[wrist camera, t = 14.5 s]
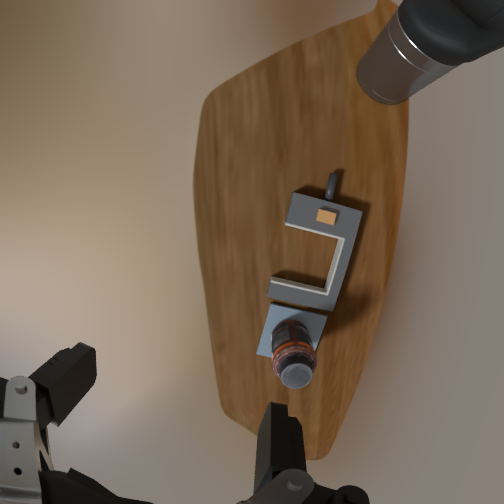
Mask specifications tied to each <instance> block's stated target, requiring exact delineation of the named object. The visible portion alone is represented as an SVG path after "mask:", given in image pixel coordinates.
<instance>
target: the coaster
mask: <svg viewBox="0 0 504 504" xmlns="http://www.w3.org/2000/svg"><path fill="white" fill-rule="evenodd" d="M327 317H328V316H327V315H324V314H320V313H315V312H310V311H306V310H301V309H297V308H292V307H288V306H283V305H279V304H274V303H271V304H270V307H269V311H268V314H267V318H266V321H265V325H264V328H263V332H262V335H261V339H260V342H259V346H258V349H257V353H256V354H258V355H263V356H267V357H272V352H271V334H272V331H273V329H274V328H275V326H276V325H277V324H279V323H280V322H282V321H285V320H297V321H300V322H301V323H303V324H304V325H305V326H306V327H307V329H308V331H309V334H310V337H311V340H312V344H313V347H314V350H316V347H317V345H318V342H319V339H320V337H321V334H322V331H323V328H324V325H325V323H326V320H327Z"/></svg>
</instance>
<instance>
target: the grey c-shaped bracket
mask: <svg viewBox="0 0 504 504" xmlns="http://www.w3.org/2000/svg"><path fill="white" fill-rule="evenodd" d="M337 179H338V175H337V174H334V173H330V176H329V180H328V184H327V188H326V192H325V197H324V200H321V199H317V198H314V197H310V196H306V195H303V194H299V193H295V192H292V196H291V200H290V204H289V208H288V212H287V216H286V220H285V225H287V226H291V227H295V228H299V229H303V230H307V231H311V232H315V233H318V234H322V235H326V236H330V237H334V238H337V239H338V243H337V246H336V250H335V253H334V257H333V260H332V264H331V267H330V270H329V274H328V277H327V280H326V283H325V287H324V288H320V287H316V286H311V285H307V284H303V283H298V282H294V281H290V280H286V279H282V278H277V277H273V276H271V278H270V282H269V286H268V289H267V297H269V298H273V299H278V300H282V301H286V302H291V303H295V304H299V305H304V306H308V307H313V308H318V309H322V310H327V311H332V312H333V310H334V307H335V304H336V301H337V298H338V295H339V292H340V289H341V285H342V282H343V279H344V276H345V273H346V269H347V266H348V263H349V260H350V256H351V253H352V249H353V246H354V242H355V239H356V235H357V231H358V228H359V224H360V220H361V216H362V211H359V210H356V209H352V208H349V207H346V206H342V205H339V204H335V203H332V200H333V196H334V192H335V188H336V183H337Z"/></svg>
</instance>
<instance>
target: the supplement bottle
mask: <svg viewBox="0 0 504 504" xmlns="http://www.w3.org/2000/svg"><path fill="white" fill-rule="evenodd" d="M271 352H272V368H273V371H274V373H275V374H276V376H277V377H278V378H280V379H281V381H282V383H283V384H284V385H285V386H287V387H289V388H293V389H297V388H302V387H304V386H306V385H307V384H308V383H309V382H310V381H311V379H312V377H313V372H314V371H315V369H316V366H317V357H316V353H315V350H314V347H313V344H312V340H311V337H310V334H309V331H308V329H307V327H306V326H305V325H304V324H303V323H301V322H300V321H297V320H285V321H282V322H280V323H279V324H277V325H276V326H275V328H274V329H273V331H272V334H271Z"/></svg>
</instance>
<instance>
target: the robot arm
mask: <svg viewBox="0 0 504 504" xmlns="http://www.w3.org/2000/svg"><path fill="white" fill-rule="evenodd" d="M502 47H504V0H403V2H402V3H401V4H400V6H399V7H398V9H397V10H396V11H395V13H394V14H393V16H392V17H391V19H390V20H389V21H388V23H387V24H386V25H385V27H384V28H383V30H382V31H381V32H380V34H379V35H378V37H377V38H376V39H375V41H374V42H373V43H372V45H371V46H370V48H369V49H368V50H367V52H366V53H365V54H364V56H363V57H362V59H361V60H360V62H359V64H358V66H357V78H358V82H359V84H360V86H361V87H362V89H363V90H364V91H365V92H366V93H367V94H368V95H369V96H370V97H371V98H372V99H374V100H376V101H378V102H380V103H383V104H386V105H395V104H398V103H401V102H402V101H404V100H405V99H407V98H408V97H410V96H412V95H413V94H415V93H416V92H418V91H419V90H421V89H423V88H424V87H426V86H427V85H429V84H430V83H432V82H434V81H435V80H436V79H438V78H440V77H441V76H443V75H445V74H446V73H448V72H449V71H451V70H452V69H454V68H456V67H457V66H459V65H460V64H462V63H466V62H471V61H474V60H476V59H478V58H480V57H482V56H484V55H486V54H488V53H490V52H492V51H495V50H497V49H499V48H502ZM96 376H97V370H96V351H95V349H94V348H93V347H90V346H88V345H86V344H84V343H81V342H80V343H78V344H77V345H75V346H74V347H73V348H72V349H70V348H66V349H64V350H61V351H59V352H57V353H56V354H55V355H54V356H53V357H52V358H50V359H49V360H48V361H47V362H45V363H44V364H43V365H42V366H41V367H40V368H38V369H37V370H36V371H35V372H34V373H33V374H31V375H30V376H29V377H28V378H27V377H24V376H16V377H13V378H11V379H10V380H7V379H4V378H1V377H0V504H153V503H150V502H146V501H139V500H132V499H127V498H122V497H118V496H116V495H115V494H113V493H112V492H110V491H109V490H108V489H106V488H105V487H103V486H102V485H101V484H99V483H98V482H97V481H95V480H94V479H92V478H90V477H88V476H86V475H84V474H82V473H80V472H78V471H76V470H74V469H72V468H70V470H69V472H68V473H65V472H61V471H55V470H54V467H53V464H52V459H51V453H50V446H49V438H48V429H47V425H48V424H49V423H50V422H51V423H52V424H54V425H56V426H57V427H59V425H60V424H61V423H62V422H63V420H64V419H65V418H66V417H67V416H68V415H69V413H70V412H71V411H72V410H73V409H74V407H75V406H76V405H77V404H78V403H79V401H80V400H81V399H82V398H83V397H84V396H85V394H86V393H87V392H88V391H89V390H90V388H91V387H92V386H93V385H94V383H95V380H96ZM303 443H304V440H303V431H302V426H301V424H300V422H299V421H298V419H297V418H296V417H289V416H288V408H287V405H285V404H279V403H274V402H269V404H268V406H267V409H266V412H265V414H264V417H263V419H262V422H261V424H260V427H259V431H258V437H257V452H256V466H255V480H254V494H253V496H251V497H250V498H249V499H247V500H246V501H240V502H238V503H237V504H370V503H369V498H368V495H367V494H366V492H365V491H364V490H362V489H361V488H359V487H357V486H351V485H347V486H343V487H341V488H339V489H338V490H334V489H330V488H327V487H323V486H320V485H318V484H316V483H315V482H314V481H313V479H312V477H311V476H310V475H309V474H308V473H307V470H306V460H305V450H304V444H303Z"/></svg>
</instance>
